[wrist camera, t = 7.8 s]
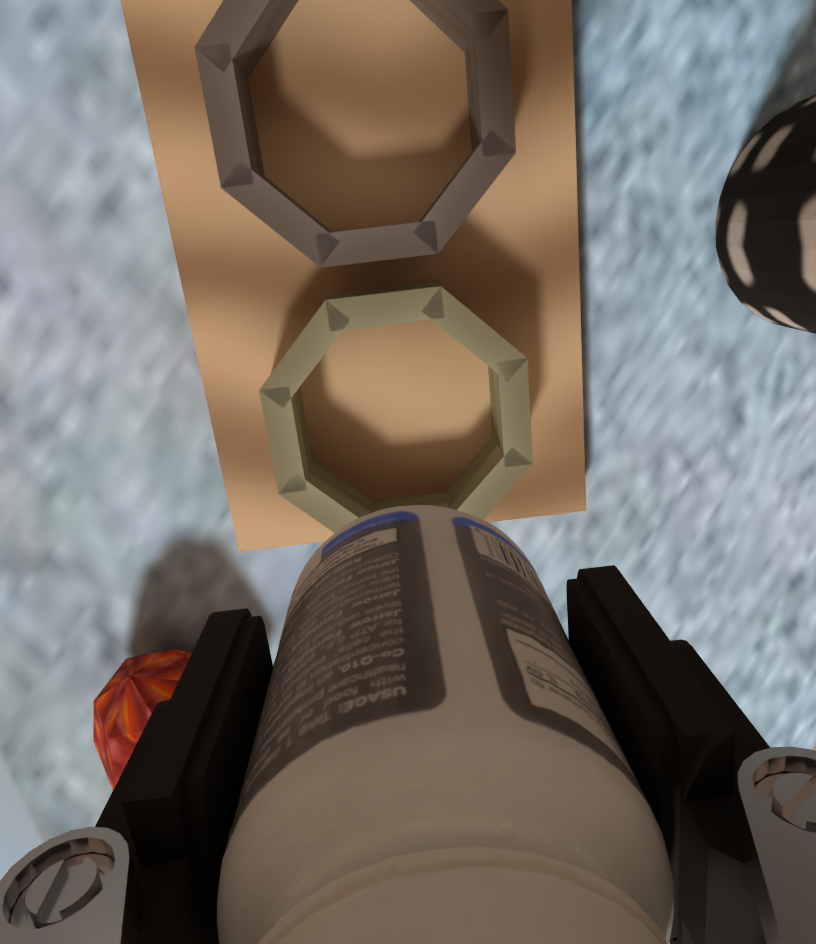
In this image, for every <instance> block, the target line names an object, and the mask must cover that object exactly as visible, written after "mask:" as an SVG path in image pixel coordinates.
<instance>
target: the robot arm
mask: <svg viewBox="0 0 816 944" xmlns="http://www.w3.org/2000/svg"><path fill="white" fill-rule="evenodd" d="M567 611H568V633H569V642H570V645H571V647H572V649H573V651H574V653H575V656H576V658H577V660H578V661H579V663H580V665H581V667H582V669H583V672H584V674H585V676H586V678H587V680H588V682H589V683H590V685H591V687H592V689H593V691H594V693H595V696H596V698H597V701H598V703H599V705H600V707H601V709H602V711H603V713H604V715H605V717H606V719H607V721H608V723H609V725H610V727H611V729H612V731H613V733H614V735H615V737H616V739H617V741H618V743H619V745H620V747H621V749H622V751H623V753H624V755H625V757H626V759H627V761H628V763H629V765H630V767H631V769H632V771H633V773H634V775H635V777H636V780H637V782H638V784H639V786H640V788H641V789H642V791H643V793H644V795H645V797H646V799H647V801H648V802H649V804H650V806H651V808H652V810H653V812H654V815H655V817H656V820H657V822H658V824H659V827H660V829H661V832H662V835H663V838H664V842H665V846H666V850H667V854H668V858H669V862H670V867H671V872H672V878H673V892H674V916H673V923H672V930H671V936H670V941H669V942H670V944H816V751H815V750H810V749H803V748H797V747H771V748H770V747H769V745H768V744H767V743H766V741H765V740H764V739H763V738H762V736H761V735H760V734H759V732H758V731H757V730H756V729H755V727H754V726H753V725H752V723H751V722H750V721H749V720H748V718H747V717H746V716H745V714H744V713H743V712H742V710H741V709H740V708H739V707H738V705H737V704H736V703H735V701H734V700H733V699H732V698H731V696H730V695H729V694H728V692H727V691H726V690H725V688H724V687H723V686H722V685H721V683H720V682H719V681H718V679H717V678H716V677H715V676H714V674H713V673H712V672H711V670H710V669H709V668H708V666H707V665H706V664H705V663H704V661H703V660H702V659H701V657H700V656H699V655H698V654H697V652H696V651H695V650H694V648H693V647H692V646H691V645H690V644H689V643H688V642H687V641H685V640H673V641H670V640H669V639H668V637H667V636H666V634H665V633H664V632H663V630H662V629H661V628H660V626H659V625H658V623H657V622H656V621H655V619H654V618H653V617H652V615H651V614H650V612H649V611H648V610H647V608H646V607H645V606H644V604H643V603H642V601H641V600H640V599H639V597H638V596H637V595H636V593H635V592H634V590H633V589H632V588H631V586H630V585H629V584H628V582H627V581H626V580H625V578H624V577H623V575H622V574H621V573H620V571H619V570H618V569H617V567H616V566H614V565H612V566H604V567H595V568H587V569H579V571H578V575H577V579H569V580H568V581H567ZM272 670H273V664H272V659H271V654H270V650H269V645H268V640H267V635H266V630H265V625H264V621H263V619H262V617H261V616H254V617H252V616H251V613H250V611H249V610H248V609H247V608H246V609H238V610H229V611H221V612H213V613H211V615H210V616H209V618H208V620H207V622H206V625H205V627H204V629H203V631H202V633H201V635H200V637H199V639H198V641H197V644H196V646H195V648H194V650H193V652H192V654H191V656H190V658H189V660H188V662H187V665H186V667H185V669H184V671H183V673H182V675H181V677H180V679H179V681H178V684H177V686H176V688H175V690H174V692H173V694H172V696H171V698H170V699H169V700H163V701H161V702H159V703H158V704H157V705H156V707H155V708H154V710H153V712H152V714H151V716H150V718H149V720H148V722H147V724H146V726H145V728H144V730H143V732H142V734H141V736H140V738H139V740H138V742H137V744H136V746H135V748H134V750H133V752H132V754H131V756H130V758H129V760H128V762H127V764H126V766H125V768H124V770H123V772H122V774H121V776H120V778H119V780H118V782H117V784H116V786H115V788H114V790H113V792H112V794H111V796H110V798H109V800H108V802H107V804H106V806H105V808H104V810H103V812H102V814H101V816H100V818H99V820H98V822H97V824H96V826H95V827H87V828H82V829H76V830H71V831H69V832H66V833H64V834H61V835H59V836H56V837H54V838H51V839H49V840H48V841H46V842H44V843H43V844H41V845H39V846H38V847H36V848H35V849H33V850H32V851H30V852H29V853H27V854H26V855H25V856H24V857H23V858H21V859H20V860H19V861H18V862H17V863H16V864H14V865H13V866H12V867H11V868H10V869H9V871H8V872H7V873H6V874H5V876H4V877H3V878H2V879H1V881H0V944H219V937H218V929H217V899H218V889H219V880H220V871H221V865H222V859H223V856H224V853H225V849H226V845H227V840H228V836H229V832H230V829H231V827H232V824H233V821H234V817H235V813H236V809H237V806H238V802H239V796H240V791H241V789H242V786H243V782H244V777H245V773H246V770H247V767H248V763H249V759H250V755H251V751H252V747H253V743H254V739H255V735H256V731H257V727H258V723H259V719H260V715H261V712H262V709H263V704H264V700H265V696H266V692H267V688H268V685H269V681H270V677H271V673H272Z"/></svg>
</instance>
